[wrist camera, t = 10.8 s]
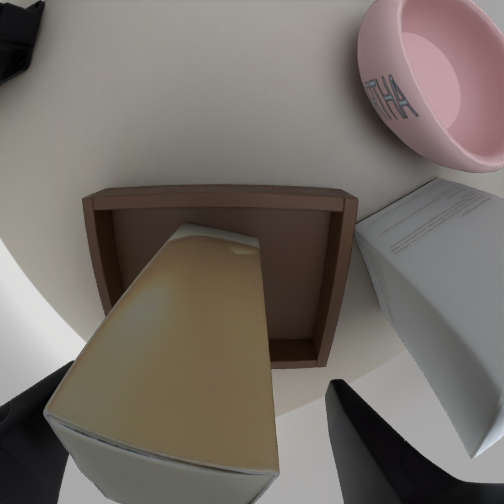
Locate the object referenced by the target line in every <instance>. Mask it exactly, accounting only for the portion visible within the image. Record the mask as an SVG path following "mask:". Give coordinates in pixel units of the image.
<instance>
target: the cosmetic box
mask: <svg viewBox="0 0 504 504" xmlns="http://www.w3.org/2000/svg"><path fill="white" fill-rule="evenodd" d="M43 415H44V417H45V418H46V420H47V421H48V423H49V424H50V426H51V427H52V429H53V430H54V432H55V434H56V435H57V437H58V438H59V439H60V441H61V442H62V444H63V445H64V447H65V448H66V450H67V451H68V452H69V454H70V455H71V456H72V458H73V459H74V461H75V463H76V465H77V467H78V468H79V470H80V471H81V472H82V473H83V474H84V475H85V476H86V477H87V478H88V479H89V480H90V481H92V482H93V483H94V485H95V486H96V487H97V488H98V489H99V490H100V491H101V492H102V494H103V495H104V496H105V497H106V498H108V499H111V500H113V501H115V502H118V503H121V504H254V503H255V502H256V501H257V500H258V499H259V498H260V497H261V496H262V495H263V494H264V492H265V491H266V490H267V489H268V488H269V487H270V485H271V484H272V483H273V482H274V480H275V479H276V478H277V477H278V476H279V459H278V446H277V438H276V425H275V413H274V401H273V388H272V376H271V366H270V355H269V343H268V333H267V322H266V312H265V303H264V290H263V280H262V270H261V258H260V246H259V240H258V238H255V237H250V236H246V235H242V234H238V233H234V232H229V231H225V230H220V229H216V228H211V227H206V226H201V225H196V224H190V223H183V224H182V225H181V226H180V227H179V228H178V229H177V230H176V232H175V233H174V234H173V235H172V236H171V237H170V238H169V239H168V241H167V242H166V243H165V244H164V245H163V247H162V248H161V249H160V250H159V251H158V252H157V254H156V255H155V256H154V257H153V258H152V260H151V261H150V262H149V263H148V264H147V265H146V267H145V268H144V269H143V270H142V271H141V273H140V274H139V275H138V276H137V278H136V279H135V280H134V281H133V283H132V284H131V285H130V286H129V288H128V289H127V290H126V292H125V293H124V294H123V295H122V297H121V298H120V299H119V300H118V302H117V303H116V304H115V306H114V307H113V308H112V310H111V311H110V312H109V314H108V315H107V316H106V318H105V319H104V320H103V322H102V323H101V325H100V326H99V327H98V329H97V330H96V331H95V333H94V334H93V336H92V337H91V338H90V340H89V341H88V343H87V344H86V345H85V347H84V348H83V350H82V351H81V353H80V354H79V355H78V357H77V358H76V360H75V361H74V363H73V364H72V366H71V367H70V369H69V370H68V372H67V373H66V375H65V376H64V378H63V379H62V381H61V382H60V384H59V385H58V387H57V389H56V390H55V392H54V393H53V395H52V397H51V398H50V400H49V401H48V403H47V405H46V407H45V409H44V411H43Z"/></svg>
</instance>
